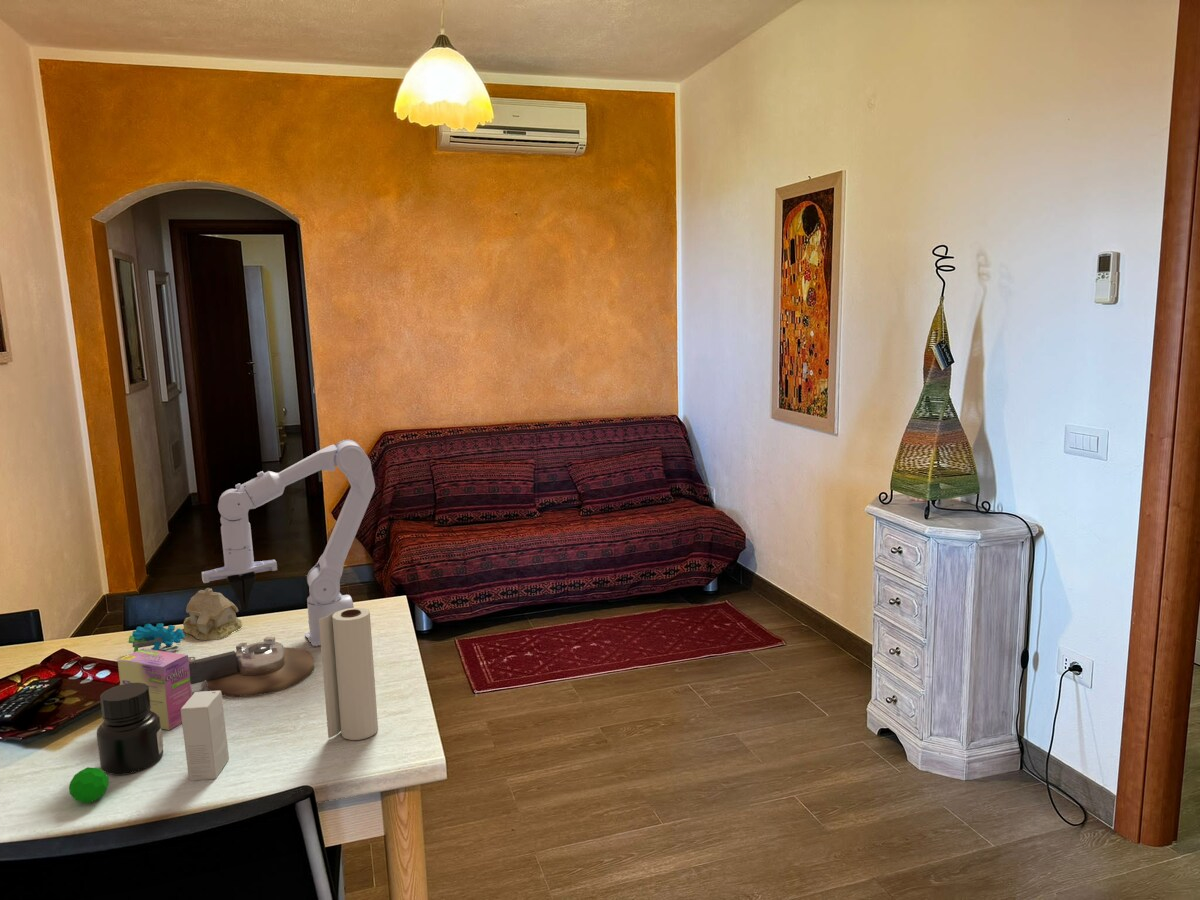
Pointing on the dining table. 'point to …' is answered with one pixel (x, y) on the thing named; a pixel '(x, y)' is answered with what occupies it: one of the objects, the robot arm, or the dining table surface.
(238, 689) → the nut base plate
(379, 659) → the dining table surface
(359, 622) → the paper towel roll
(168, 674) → the box
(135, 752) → the ink bottle
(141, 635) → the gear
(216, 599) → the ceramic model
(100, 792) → the polyhedron
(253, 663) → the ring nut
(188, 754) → the skincare box
